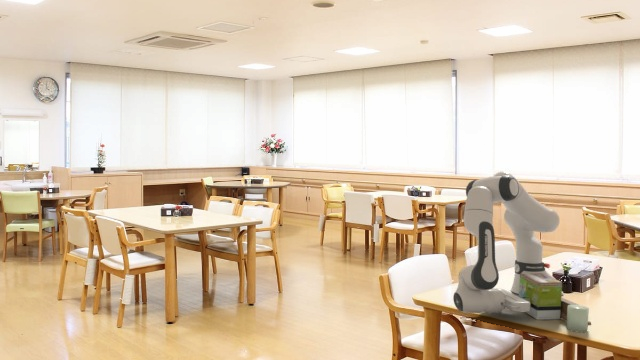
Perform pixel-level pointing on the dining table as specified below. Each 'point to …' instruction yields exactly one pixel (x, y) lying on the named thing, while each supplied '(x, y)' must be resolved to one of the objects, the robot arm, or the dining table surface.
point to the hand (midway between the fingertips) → (527, 299)
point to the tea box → (541, 295)
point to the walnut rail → (564, 308)
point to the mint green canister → (577, 318)
